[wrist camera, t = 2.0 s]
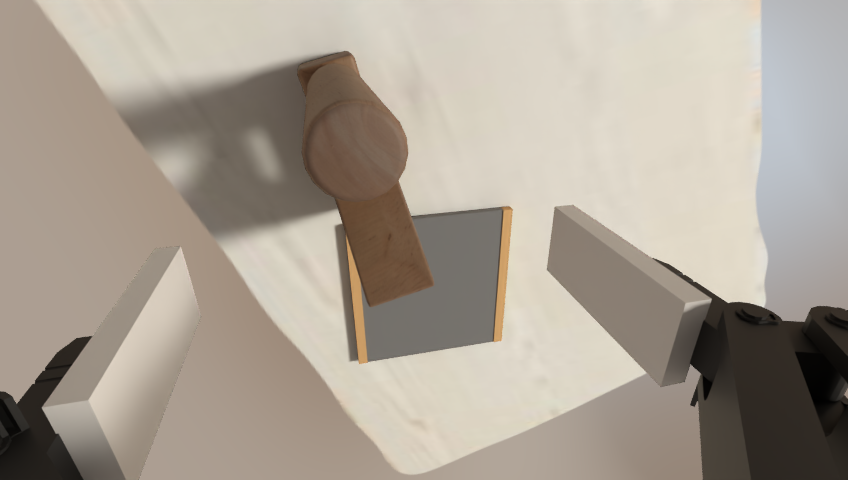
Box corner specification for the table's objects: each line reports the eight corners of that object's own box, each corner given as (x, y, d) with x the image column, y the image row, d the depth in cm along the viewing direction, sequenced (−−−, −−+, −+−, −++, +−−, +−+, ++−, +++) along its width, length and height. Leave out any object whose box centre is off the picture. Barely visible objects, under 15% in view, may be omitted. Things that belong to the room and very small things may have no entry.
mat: (344, 223, 35) (345, 226, 34) (509, 206, 38) (512, 209, 37) (358, 358, 41) (359, 364, 40) (498, 336, 44) (501, 340, 43)
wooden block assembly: (348, 206, 34) (379, 361, 19) (296, 64, 29) (278, 114, 13) (393, 192, 35) (460, 333, 19) (349, 49, 29) (392, 80, 14)
